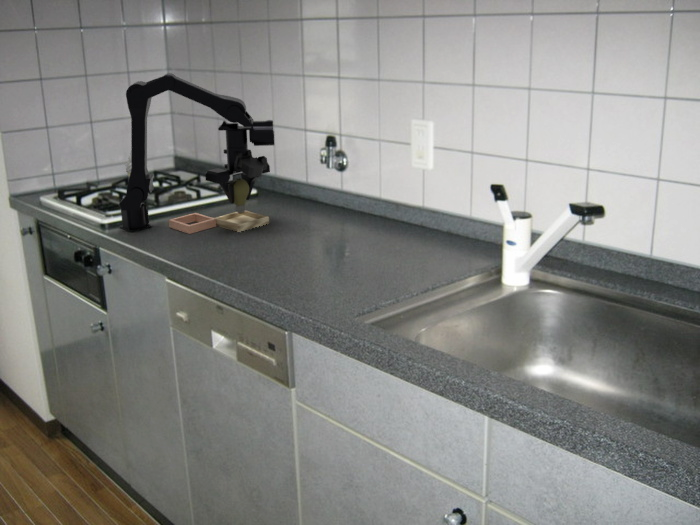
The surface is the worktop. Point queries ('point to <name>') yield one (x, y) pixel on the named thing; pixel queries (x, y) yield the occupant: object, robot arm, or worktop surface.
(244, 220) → the tray
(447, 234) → the worktop surface
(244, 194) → the light bulb
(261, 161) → the robot arm
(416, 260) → the worktop surface
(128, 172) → the ice cream cone
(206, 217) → the shallow square box
